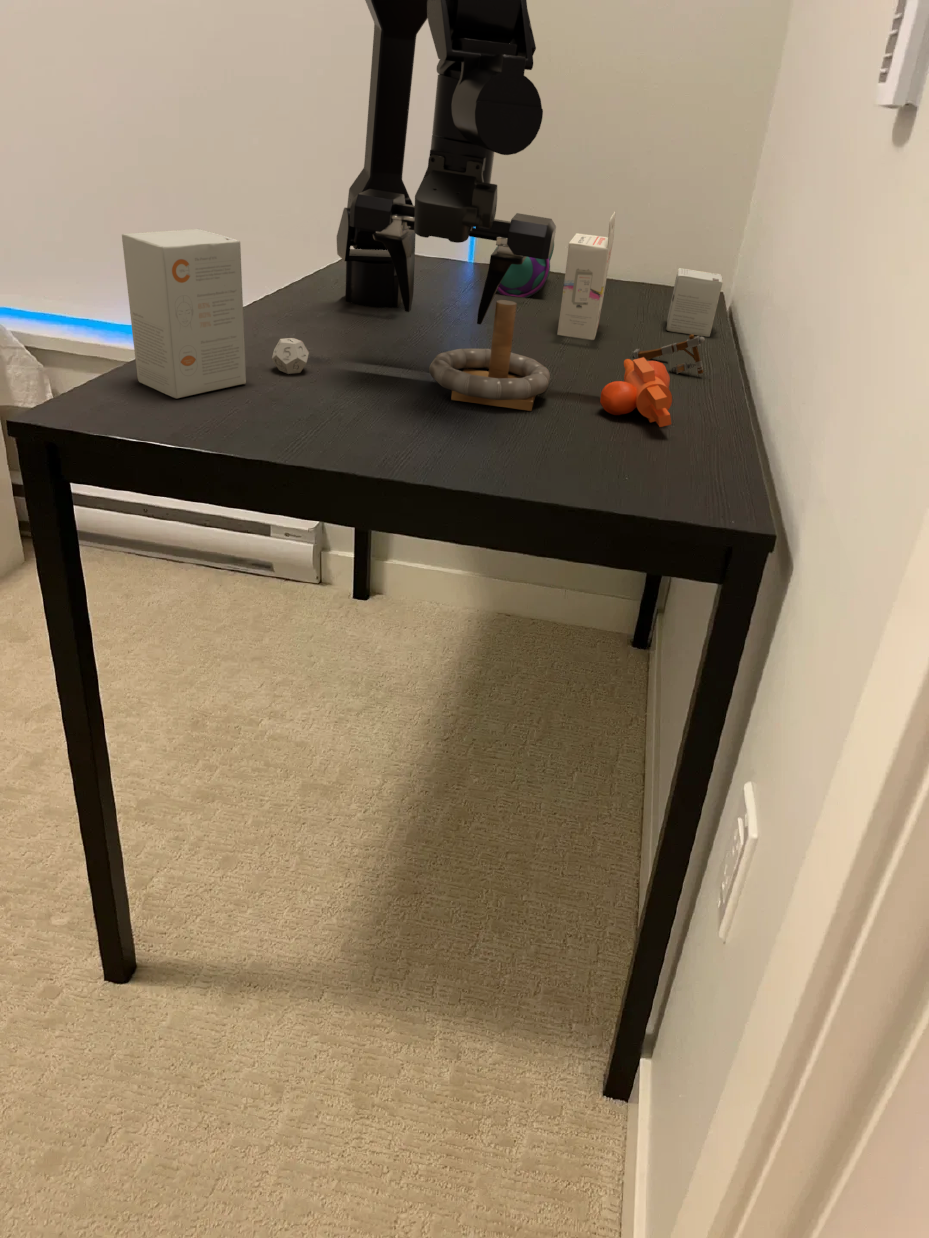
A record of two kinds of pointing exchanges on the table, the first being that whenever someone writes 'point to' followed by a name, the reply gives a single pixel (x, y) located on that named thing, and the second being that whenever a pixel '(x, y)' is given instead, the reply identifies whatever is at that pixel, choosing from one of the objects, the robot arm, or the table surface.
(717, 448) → the table surface
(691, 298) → the white cardboard box
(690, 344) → the wooden post with brackets
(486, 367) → the gray segmented ring
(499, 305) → the wooden peg stand
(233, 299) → the small box
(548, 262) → the pencil case
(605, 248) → the ink cartridge box
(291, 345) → the game die
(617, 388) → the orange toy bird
